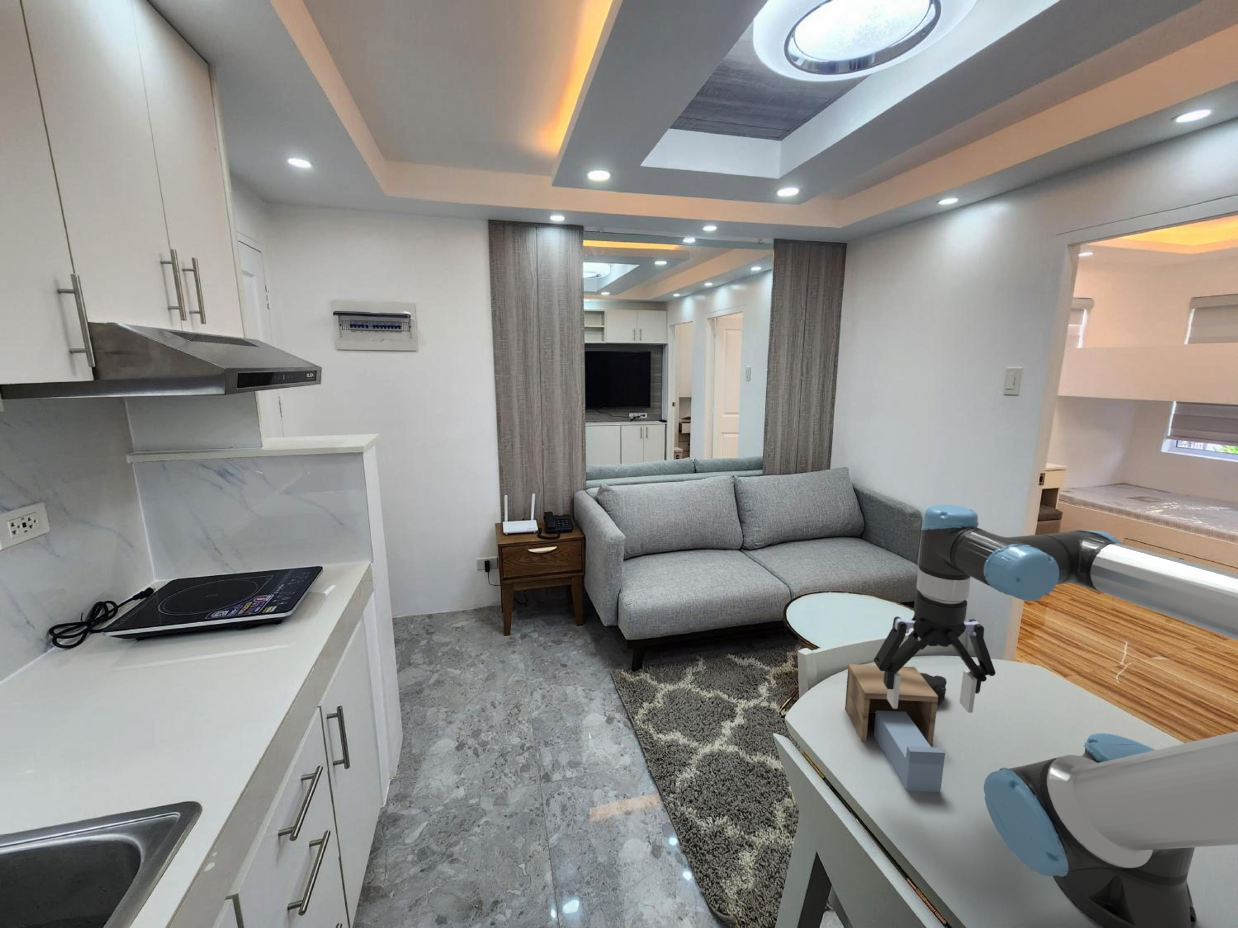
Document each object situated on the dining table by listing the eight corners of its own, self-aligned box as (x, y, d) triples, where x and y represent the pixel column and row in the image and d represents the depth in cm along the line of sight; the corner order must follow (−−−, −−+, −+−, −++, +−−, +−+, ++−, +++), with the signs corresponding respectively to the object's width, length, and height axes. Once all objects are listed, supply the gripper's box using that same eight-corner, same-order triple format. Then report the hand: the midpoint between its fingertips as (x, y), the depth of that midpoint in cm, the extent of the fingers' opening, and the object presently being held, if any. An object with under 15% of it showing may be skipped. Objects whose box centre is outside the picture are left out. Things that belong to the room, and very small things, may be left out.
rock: (949, 721, 108) (952, 697, 107) (901, 709, 112) (904, 686, 111) (942, 694, 117) (945, 672, 116) (899, 684, 121) (901, 663, 119)
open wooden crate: (932, 744, 101) (938, 696, 99) (861, 740, 103) (865, 692, 101) (909, 711, 111) (914, 666, 109) (845, 708, 112) (848, 663, 110)
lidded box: (940, 792, 90) (945, 752, 89) (906, 791, 91) (910, 751, 89) (903, 736, 104) (907, 700, 102) (873, 735, 104) (876, 699, 103)
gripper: (1002, 586, 87) (987, 695, 91) (859, 582, 90) (851, 688, 94) (1032, 607, 80) (1014, 724, 84) (876, 602, 83) (866, 715, 87)
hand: (928, 705), depth 89 cm, fingers open, 12 cm apart
